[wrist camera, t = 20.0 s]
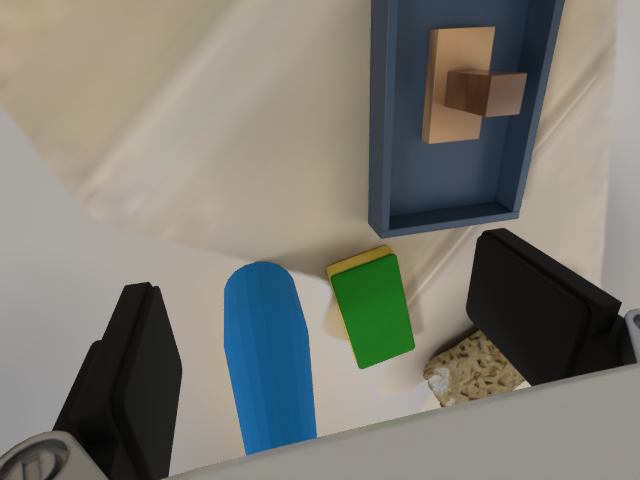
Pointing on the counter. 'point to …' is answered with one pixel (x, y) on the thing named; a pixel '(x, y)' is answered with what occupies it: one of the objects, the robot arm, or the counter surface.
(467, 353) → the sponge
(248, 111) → the counter surface
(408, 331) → the dish sponge
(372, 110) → the baking dish
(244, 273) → the bottle
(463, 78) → the two-tone wood block
